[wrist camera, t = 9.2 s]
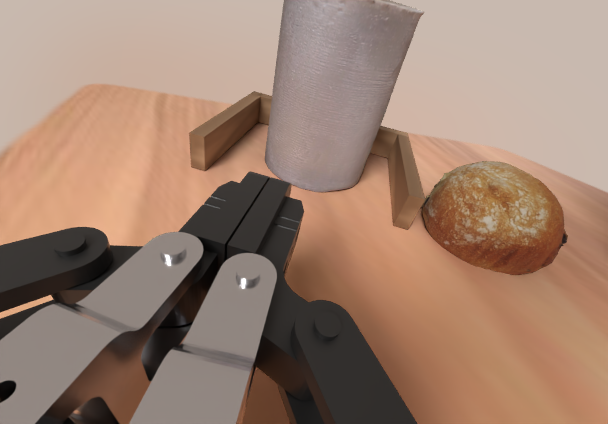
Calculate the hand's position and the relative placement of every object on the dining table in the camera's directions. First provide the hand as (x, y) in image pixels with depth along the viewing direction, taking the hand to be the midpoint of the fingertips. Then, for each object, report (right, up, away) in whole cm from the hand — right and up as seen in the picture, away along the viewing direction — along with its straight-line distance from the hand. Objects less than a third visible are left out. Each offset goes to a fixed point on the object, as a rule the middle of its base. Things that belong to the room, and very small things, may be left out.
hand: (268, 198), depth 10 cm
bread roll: (+16, -3, +14) cm, 22 cm away
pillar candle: (+2, +4, +18) cm, 18 cm away
